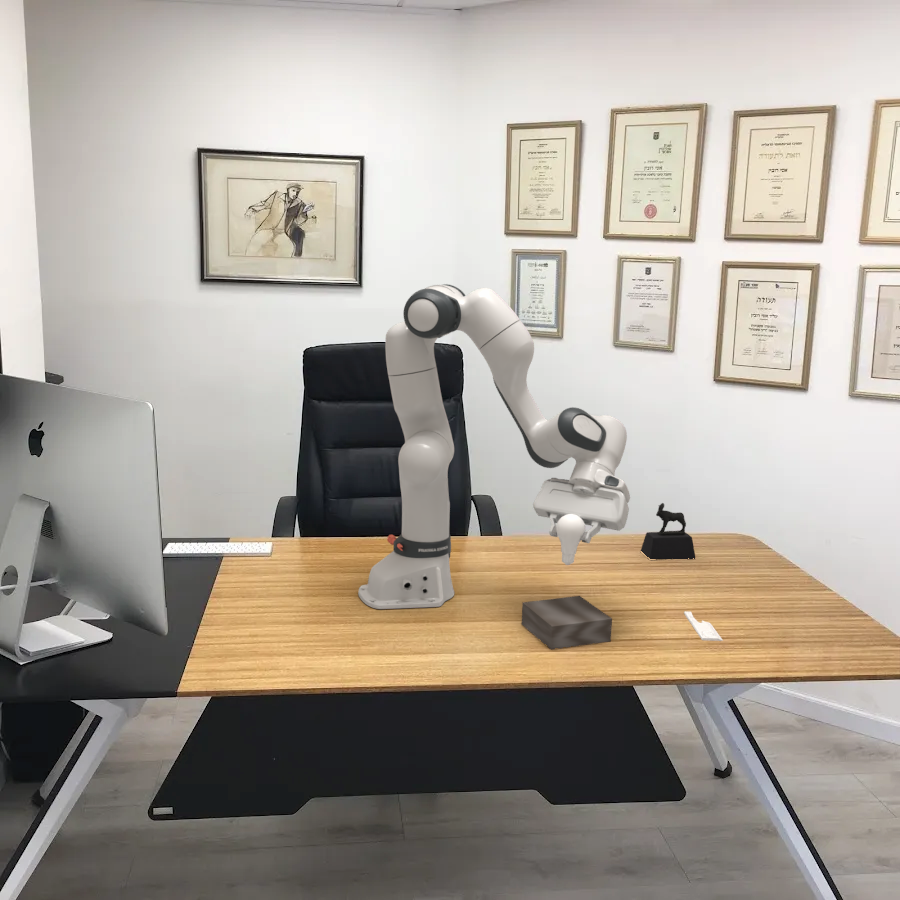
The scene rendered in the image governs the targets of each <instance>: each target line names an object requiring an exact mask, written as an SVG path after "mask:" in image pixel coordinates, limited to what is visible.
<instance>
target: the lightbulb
mask: <svg viewBox="0 0 900 900" xmlns="http://www.w3.org/2000/svg"><path fill="white" fill-rule="evenodd" d="M586 530H587V529H586V525H585V523H584V521H583V520H582V519H581V518H580V517H579V516H577V515H574V514H567V515H565V516H563V517H561V518H560V519H559V521H558V522H557V523H556V532H557V535H558V537H557V538H558V539H559V542H560V551H561V562H562V563H563V564H565V565H566V566H570V565H572V564H574V562H575V557H576V556H575V555H576V554H577V550H578V546H579V544H580V542H582V540H581V536H582V535H583V533H584V532H587V531H586Z"/></svg>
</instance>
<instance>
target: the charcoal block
mask: <svg viewBox="0 0 900 900" xmlns="http://www.w3.org/2000/svg"><path fill="white" fill-rule="evenodd" d="M612 625H613V617H611V616H609V615H608V614H606V613H605V612H603V611H602V610H601V609H599V608H598V607H596V606H595V605H593V604H592V603H591V602H589V601H588V600H586V599H585V598H584V597H582V596H581V595H572V596H566V597H565V596H564V597H558V598H557V597H556V598H549V599H540V600H532V601H522V606H521V626H523V627H524V628H525V629H527V631H529V632H530V633H531V634H532V635H533V636H535V637H536V638H537V639H538V640H539V639H540V640H541V641H540V640H539V641H540V642H542V644H544V645H545V644H546V645H547V646H548V648H549V650H556V649H555V648H558V649H564V648H563V647H566V648H571V646H573V647H579V645H580V646H585V645H592V644H593V643H594V644H600V643H608V642H611V641H612V627H613V626H612ZM546 645H545V646H546ZM547 646H546V647H547Z"/></svg>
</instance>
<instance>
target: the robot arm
mask: <svg viewBox="0 0 900 900" xmlns="http://www.w3.org/2000/svg"><path fill="white" fill-rule="evenodd" d="M455 331H456V332H457V331H461V332H463V333H464V334H466V335H467V336H468V337H469V338H470V339H471V341H472V342H473V344H474V345H475V346H476V347H477V349H478V351H479V352H480V353H481V355H482V356H483V359H484V360H485V361H486V364H487V365H488V368H489V369H490V372H491V374H492V379H493V383H494V386H495V388H496V390H497V392H498V394H499V396H500V397H501V400H502V401H503V403H504V405H505V406H506V408H507V410H508V412H509V414H510V416H511V417H512V418H513V421H514V422H515V424H516V426H517V428H518V429H519V431H520V433H521V435H522V437H523V441H524V444H525V447H526V448H525V449H526V450H527V453H528V455H529V456H530V458H531V459H532V461H534V463H536V464H537V465H539V466H541V467H543V468H547V469H554V468H555V469H556V468H558V467H560V466H561V465H562V464H564V463H565V462H567V461H568V460H569V459H570V458H572V459H574V460H575V465H574V467H573V470H572V472H571V475H570V477H569V479H565V478H564V479H563V478H557V477H551V478H549V479H545V480H544V481H543V483H542V485H541V486H540V487H541V488H540V490H539V491H538V494H537V495H536V497H535V498H534V502H533V503H532V505H533V507H532V508H534V509H533V510H534V512H535V513H536V514H537V516H538V517H543V518H547V519H548V518H549V521H550V526H551V527H550V529H549V531H548V533H549V535H550V537H555V538H559V537H558V535H557V532H556V525H557V522H558V521H559V519H560V518H561V517H563V516H565V515H567V514H574V515H577V516H579V517H580V518H581V519H582V520H583V521H584V523H585V526H591V527H590V528H589V530H588V531H585V532H584V533H583V535H582V536H581V543H585V544H590V543H591V540H592V538H594V536H596V535H597V534H598V533H599V532H600V531H601V528H602V529H606V530H612V531H617V532H618V531H619V532H620V531H621V530H622V529H624V528H625V526H626V524H627V520H628V515H629V511H630V507H629V504H628V503H629V502H630V501H631V497H630V495H631V494H630V491H629V488H628V486H627V484H626V483H625V481H624V480H623V479H621V478H619V477H617V476H615V475H616V470H617V468H618V467H619V465H620V464H621V461H622V457H623V455H624V452H625V449H626V444H627V440H628V435H627V429H626V427H625V425H624V424H623V422H621V421H620V420H619V419H617V418H616V417H615V416H611V415H609V414H603V415H594V414H591V413H588V412H587V411H585V410H584V409H582V408H580V407H573V406H572V407H568V408H565V409H564V410H561V411H560V412H559V413H556V414H555V415H553V416H552V417H551V418H550V419H546V418H545V416H544V415H543V413H542V411H541V410H540V408H539V406H538V405H537V402H536V401H535V399H534V398H533V396H532V394H531V392H530V390H529V387H528V382H527V375H528V373H529V372H528V371H529V368H530V366H531V364H532V362H533V358H534V353H535V342H534V341H533V338H532V335H531V333H530V332H529V330H528V329H527V327H526V325H525V324H524V323H523V321H521V318H519V315H517V314H516V311H514V310H513V309H512V308H511V307H510V305H509V304H508V303H507V302H506V301H505V300H504V299H503V298H502V297H501V296H500V295H499V294H498V293H497V292H496V291H495V290H494V289H491V288H489V287H482V288H481V287H480V288H477V289H474V290H472V291H471V292H469V293H468V294H467V295H466V294H465V293H464V291H462V289H460V288H458V287H457V286H454V285H452V284H448V283H446V284H445V283H444V284H432V285H430V286H427V287H424V288H421V289H420V290H417V291H416V292H414V293H412V294H411V295H410V296H409V298H408V299H407V301H406V302H405V305H404V307H403V321H402V322H398V323H396V324H394V325H392V326H391V327H390V328H389V329H388V330H387V332H386V334H385V344H384V346H385V348H384V349H385V362H386V363H385V364H386V368H387V376H388V380H389V387H390V393H391V398H392V403H393V409H394V411H395V413H396V415H397V418H398V421H399V423H400V427H401V429H402V433H403V436H404V444H403V445H402V446H401V448H400V450H399V453H398V458H397V459H398V460H397V462H398V474H399V486H400V492H401V493H400V494H401V534H400V535H399V536H398V537H396V535H394V534H389V535H388V536H387V538H386V539H387V540H386V541H387V542H388V544H390V545H391V546H393V550H392V551H391V552H390V553H389V554H388V555H386V556H385V557H384V558H382V559H381V560H379V561H378V562H377V563H376V564H374V565H372V567H371V569H370V572H369V575H368V579H367V584H362V585H360V587H358V597H359V598H360V600H361V601H362V602H363V603H364V604H365V605H367V606H368V607H371V608H373V609H377V610H386V609H387V610H388V609H393V610H394V609H414V608H415V609H417V608H435V607H436V608H439V607H442V606H443V605H444V603H445V602H446V601H448V600H450V599H452V598H453V597H454V596H455V590H454V587H453V581H452V577H451V576H452V575H451V568H450V559H451V552H452V539H451V537H452V536H451V534H450V515H451V513H450V512H451V511H450V510H451V509H450V508H451V502H450V496H449V495H450V494H449V478H448V477H449V476H448V475H449V474H448V472H449V466H450V463H451V462H452V460H453V458H454V455H455V445H454V440H453V434H452V430H451V427H450V424H449V423H450V422H449V420H448V416H447V413H446V409H445V406H444V402H443V397H442V392H441V387H440V379H439V374H438V367H437V363H436V358H435V342H437V339H441V338H443V337H444V336H447V335H450V334H451V333H454V332H455Z"/></svg>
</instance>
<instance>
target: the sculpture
mask: <svg viewBox="0 0 900 900" xmlns="http://www.w3.org/2000/svg"><path fill="white" fill-rule="evenodd" d="M664 508H665V503H663V502H662V503H660V504H659V505H658V509H657V512H656V516H657V517H659V518H660V519H661V521H663V522H662V527H661V528H660V530H659V531H652V532H651V531H650V532H649V531H648V532H646V533H645V536H644V538H643V543H642V545H641V547H640V548H641V549H640V551H642V552H643V553H644V554H645V555H646V556H647V557H649V558H650V559H687V560H696V559H695V558H696V553H695V545H694V542H693V537H692V536H691V535H690V534H689V533H687V532H686V527H687V522H686V519H685V515H684V513H683V512H672V511H669V510H664ZM676 521H677V522H678V523H679V524H680V525H681V526H682V528H681V530H666V528H667V526H668V523H669V522H672V523H674V522H676ZM688 558H689V559H688ZM693 558H694V559H693Z"/></svg>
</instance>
